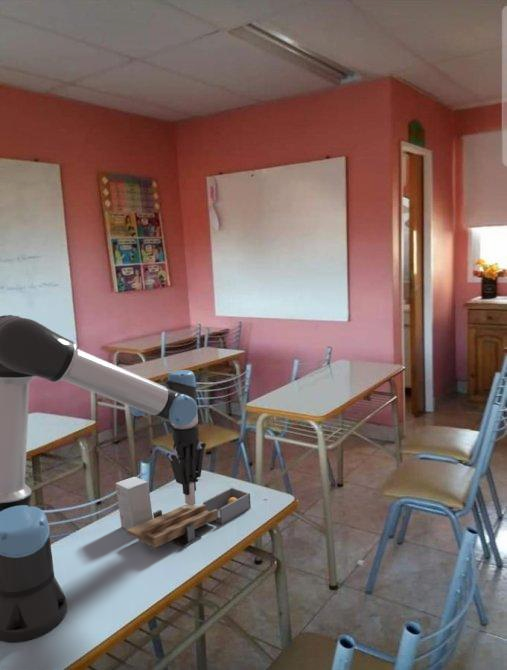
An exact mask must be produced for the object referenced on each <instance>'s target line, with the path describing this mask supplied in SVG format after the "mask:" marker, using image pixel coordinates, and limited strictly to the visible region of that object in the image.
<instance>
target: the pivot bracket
mask: <svg viewBox="0 0 507 670" xmlns="http://www.w3.org/2000/svg"><path fill="white" fill-rule="evenodd" d="M152 515H153V519H154V518H156V517H158V516H161V515H163V511H162V509H159V510H157V511H155V512H152ZM195 530H196V529H194V524H191V525H189V526H187V527H185V531H186V533H185V534H183V535H181V536H179V537H177V538H175V539H173V540H170V541H169V542H171V543H174V544H176V545H178V546H180V547H182V548H186V547H188V546H189V545H192V544H193V543H196V542H197V541H199V540H200V539H202V535H200V534H198V533H196V532H195Z"/></svg>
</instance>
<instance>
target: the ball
mask: <svg viewBox="0 0 507 670" xmlns="http://www.w3.org/2000/svg"><path fill="white" fill-rule="evenodd" d="M235 500H237V498H235V497H231V498H230V499H229V500H228V504H230V503H231V502H233V501H235Z"/></svg>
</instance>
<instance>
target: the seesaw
mask: <svg viewBox="0 0 507 670" xmlns="http://www.w3.org/2000/svg"><path fill="white" fill-rule="evenodd" d="M217 518H218V510H217V509H214V510H212V511H210V512H209V511H207V510H206V505H203V504H202V505H200V506H198V505H196V504H194V505H192V506H191V505H188V504H185V505H183V506H180V507H178V508H175V509H173V510H170V511H168V512H166V513H164V514H163V513H162V515H161V516H158V517H156V518H154V517H153V519H151V520H149V521H146V522H144V523H142V524H139V525H137V526H134V527H132V528H130V529H126V534H127V535H129V536H131V537H133V538H135V539H137V540H139V541H141V542H143V543H145V544H147V545H149V546H151V547H153V548H158V547H159V546H161V545H164V544H166V543H168V542H171V541H170V540H173V539H175V538H177V537H179V536H181V535H183V534H185V533H186V531H185V527H187V526H189V525H191V524H194V530H196V529H198V528H201V527H202V526H204V525H205V526H206V525H207V524H209V523H211V522H213V520H215V519H217Z"/></svg>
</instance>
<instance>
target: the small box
mask: <svg viewBox="0 0 507 670" xmlns="http://www.w3.org/2000/svg"><path fill="white" fill-rule="evenodd" d="M115 487H116V489H115V490H116V497H117V504H118V511H119V519H120V526H121V527H122V529H125V530H127V529H130V528H132V527H134V526H137V525H139V524H142V523H144V522H146V521H149V520H151V519H154V517H153V510H152V509H153V508H152V501H151V495H150V494H151V493H150V489H149V487H150V485H149V482H148V481H146V480H144V479H142V478H139V477H137V476H133V477H129V478H127V479H123V480H120V481H117V482H115Z"/></svg>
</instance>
